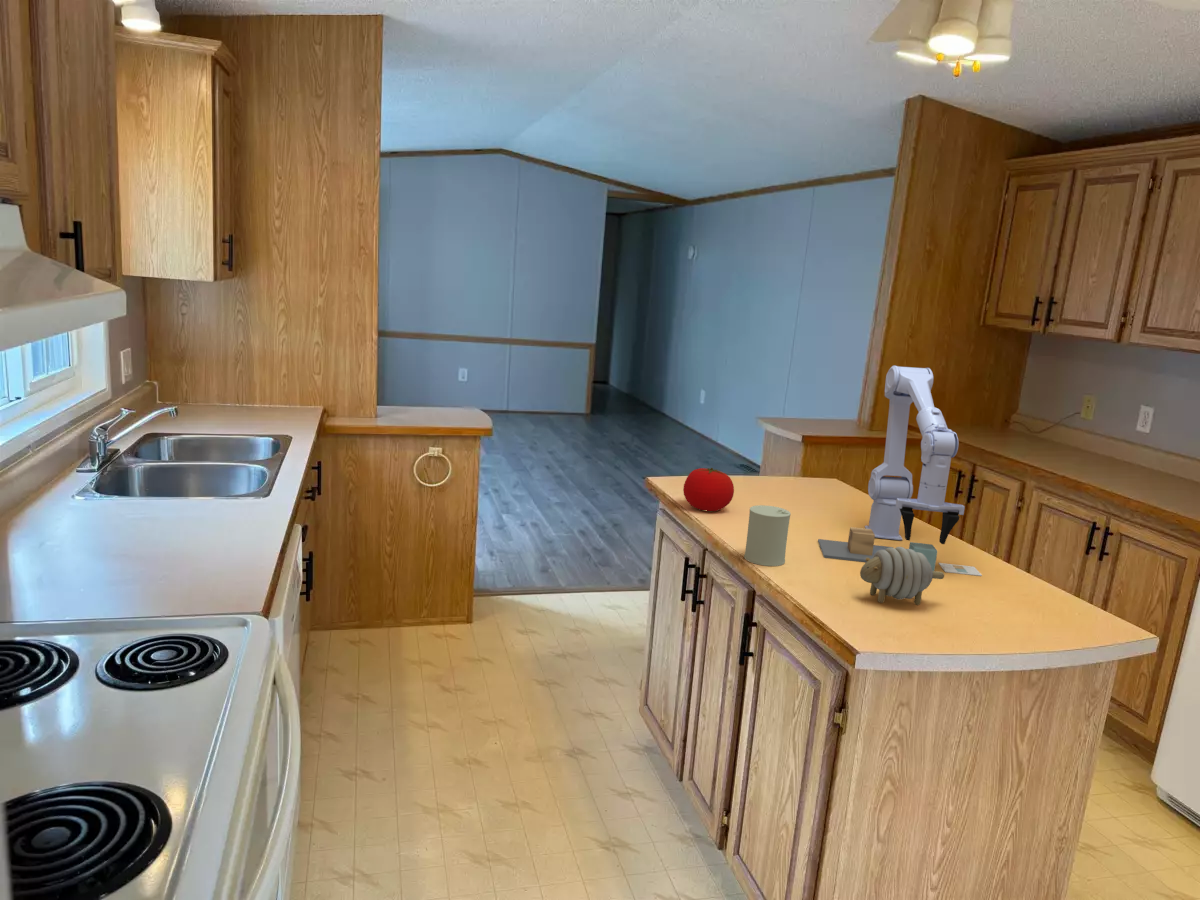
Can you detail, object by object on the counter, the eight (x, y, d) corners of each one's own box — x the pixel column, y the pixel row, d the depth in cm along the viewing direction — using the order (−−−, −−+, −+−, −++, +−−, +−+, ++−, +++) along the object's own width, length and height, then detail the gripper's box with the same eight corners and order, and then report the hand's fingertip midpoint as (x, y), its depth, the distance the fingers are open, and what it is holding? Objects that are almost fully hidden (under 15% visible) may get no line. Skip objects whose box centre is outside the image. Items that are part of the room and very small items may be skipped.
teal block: (906, 562, 195) (910, 542, 194) (929, 564, 194) (932, 544, 194) (911, 569, 190) (914, 548, 189) (934, 571, 190) (937, 550, 189)
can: (785, 568, 184) (791, 516, 182) (743, 563, 186) (749, 511, 183) (784, 556, 193) (790, 506, 191) (744, 550, 195) (750, 501, 192)
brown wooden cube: (847, 546, 201) (850, 527, 200) (868, 549, 201) (871, 529, 200) (850, 553, 197) (853, 532, 196) (872, 555, 196) (875, 535, 195)
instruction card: (938, 563, 196) (938, 562, 196) (974, 567, 195) (974, 566, 195) (945, 571, 190) (945, 570, 190) (981, 576, 189) (981, 575, 189)
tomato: (673, 504, 232) (677, 463, 229) (714, 501, 238) (718, 462, 235) (697, 517, 220) (701, 474, 218) (740, 514, 226) (744, 472, 224)
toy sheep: (847, 589, 174) (854, 538, 172) (924, 591, 176) (932, 541, 174) (868, 608, 164) (876, 555, 161) (949, 611, 165) (958, 558, 163)
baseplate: (817, 541, 206) (818, 538, 206) (892, 549, 204) (893, 547, 204) (823, 557, 194) (824, 555, 194) (903, 566, 191) (904, 564, 191)
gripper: (903, 484, 186) (895, 542, 188) (971, 491, 184) (962, 549, 186) (897, 477, 192) (889, 533, 195) (963, 484, 190) (953, 540, 193)
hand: (924, 541), depth 191 cm, fingers open, 7 cm apart
